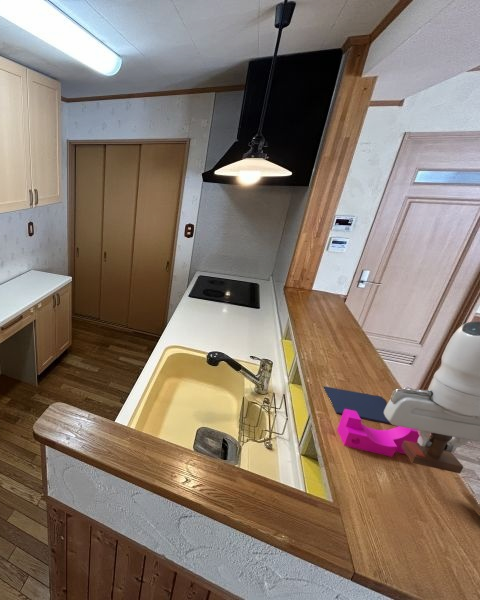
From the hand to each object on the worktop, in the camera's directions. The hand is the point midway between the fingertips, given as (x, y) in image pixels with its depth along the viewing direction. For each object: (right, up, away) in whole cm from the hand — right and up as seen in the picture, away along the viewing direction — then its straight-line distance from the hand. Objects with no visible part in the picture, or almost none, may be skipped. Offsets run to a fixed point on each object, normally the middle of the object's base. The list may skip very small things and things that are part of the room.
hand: (435, 447), depth 72 cm
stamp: (0, -3, +1) cm, 4 cm away
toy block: (+1, -7, +16) cm, 17 cm away
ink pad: (+10, -1, +31) cm, 32 cm away
